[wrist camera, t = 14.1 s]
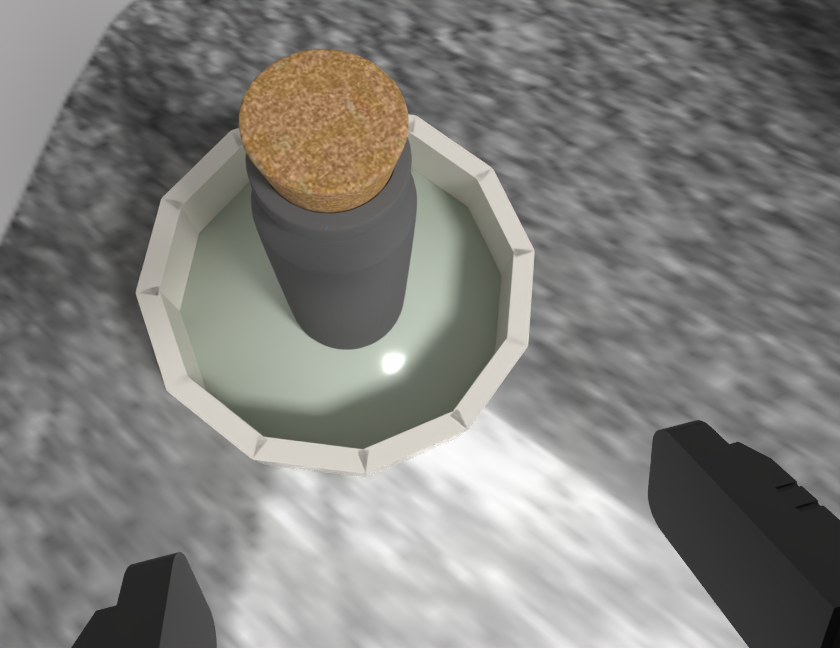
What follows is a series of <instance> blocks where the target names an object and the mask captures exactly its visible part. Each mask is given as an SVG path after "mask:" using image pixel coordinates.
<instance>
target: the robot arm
mask: <svg viewBox="0 0 840 648" xmlns="http://www.w3.org/2000/svg"><path fill="white" fill-rule="evenodd" d="M648 501H649V505H650V509H651V512H652V515H653V517H654V519H655V521H656V523H657V525H658V527H659V528H660V530H661V531H662V533H663V534H664V535H665V537H666V538H667V539H668V541H669V542H670V543H671V545H672V546H673V547H674V549H675V550H676V551H677V553H678V554H679V555H680V557H681V558H682V559H683V561H684V562H685V563H686V565H687V566H688V567H689V568H690V570H691V571H692V572H693V574H694V575H695V576H696V578H697V579H698V580H699V582H700V583H701V584H702V586H703V587H704V588H705V590H706V591H707V592H708V594H709V595H710V596H711V598H712V599H713V600H714V602H715V603H716V604H717V606H718V607H719V608H720V610H721V611H722V612H723V614H724V615H725V616H726V618H727V619H728V620H729V622H730V623H731V624H732V626H733V627H734V628H735V630H736V631H737V632H738V634H739V635H740V636H741V638H742V639H743V640H744V642H745V643H746V644H747V646H748V647H749V648H840V520H839V519H838V518H837V517H836V516H835V515H834V514H832V513H831V512H830V511H829V510H828V509H827V508H826V507H825V506H820V505H819V504H818V500H817V499H816V498H815V497H813V496H812V495H811V494H810V493H809V492H808V491H807V490H806V489H805V488H803V487H802V486H800V487H799V486H798V485H797V481H796V480H795V479H793V478H792V477H791V476H790V475H789V474H788V473H787V472H786V471H784V470H783V469H782V468H781V467H780V466H779V465H778V464H777V463H776V462H774V461H773V460H772V459H771V458H769V457H767V456H765V455H763V454H761V453H759V452H757V451H755V450H754V449H752V448H750V447H748V446H746V445H744V444H742V443H740V442H736V443H732V444H728V443H727V442H726V441H725V440H724V439H723V438H722V437H721V436H720V435H719V434H718V433H717V432H716V431H715V430H714V429H712V428H711V427H710V426H709V425H708V424H707V423H705V422H703V421H700V420H696V421H692V422H688V423H684V424H681V425H677V426H673V427H669V428H665V429H661V430H658V431H656V432H655V434H654V436H653V442H652V453H651V464H650V475H649V486H648ZM72 648H217V644H216V632H215V626H214V621H213V617H212V614H211V611H210V609H209V606H208V604H207V602H206V600H205V598H204V595H203V593H202V591H201V589H200V587H199V585H198V582H197V580H196V578H195V576H194V574H193V572H192V569H191V567H190V565H189V563H188V561H187V559H186V557H185V555H184V554H183V553H181V552H178V553H174V554H170V555H166V556H162V557H158V558H155V559H151V560H147V561H143V562H139V563H135V564H131V565H130V566H129V567H128V568H127V569H126V572H125V574H124V578H123V582H122V586H121V590H120V594H119V598H118V602H117V605H116V606H113V607H109V608H105V609H101V610H98V611H96V612H95V613H94V615H93V616H92V618H91V619H90V621H89V622H88V624H87V625H86V627H85V628H84V630H83V631H82V633H81V634H80V635H79V637H78V638H77V640H76V641H75V643H74V644H73V646H72Z"/></svg>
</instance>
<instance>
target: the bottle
mask: <svg viewBox="0 0 840 648" xmlns="http://www.w3.org/2000/svg"><path fill="white" fill-rule="evenodd" d="M408 129H409V117H408V111H407V107H406V103H405V100H404V98H403V95H402V93H401V92H400V90H399V88H398V86H397V85H396V84H395V82H394V81H393V80H392V79H391V78H390V77H389V76H388V75H387V74H386V73H385V72H384V71H383V70H382V69H381V68H380V67H378V66H377V65H375V64H374V63H372V62H370V61H369V60H367V59H365V58H362V57H360V56H357V55H355V54H353V53H348V52H344V51H340V50H330V49H313V50H307V51H301V52H298V53H295V54H292V55H289V56H286V57H284V58H281V59H279V60H277V61H276V62H274V63H272V64H271V65H270V66H268V67H267V68H266V69H264V70H263V71H262V72H261V73H260V74H259V75H258V76H257V77H256V78H255V79H254V81H253V82H252V83H251V85H250V86H249V88H248V89H247V91H246V93H245V95H244V98H243V100H242V103H241V108H240V112H239V132H240V137H241V141H242V144H243V147H244V149H245V151H246V158H245V162H246V171H247V175H248V178H249V181H250V184H251V187H252V192H251V209H252V215H253V220H254V223H255V226H256V229H257V231H258V234H259V237H260V239H261V242H262V244H263V246H264V249H265V251H266V254H267V256H268V258H269V261H270V263H271V265H272V268H273V270H274V272H275V275H276V277H277V280H278V282H279V284H280V286H281V289H282V291H283V293H284V295H285V298H286V300H287V302H288V304H289V307H290V309H291V311H292V313H293V315H294V317H295V319H296V321H297V323H298V324H299V325H300V327H301V328H302V329H303V330H304V332H305V333H306V334H307V335H308V336H309V337H311V338H312V339H314V340H315V341H317V342H319V343H320V344H322V345H325V346H328V347H331V348H335V349H342V350H352V349H359V348H362V347H366V346H369V345H371V344H373V343H375V342H377V341H378V340H380V339H381V338H383V337H384V336H385V335H386V334H387V333H388V332H389V331H390V330H391V329H392V328H393V326H394V325H395V323H396V322H397V320H398V318H399V316H400V314H401V311H402V308H403V303H404V298H405V293H406V286H407V279H408V273H409V266H410V259H411V253H412V245H413V238H414V230H415V223H416V213H417V192H416V187H415V183H414V179H413V176H412V174H411V166H412V155H411V147H410V143H409V140H408V137H407V134H408Z"/></svg>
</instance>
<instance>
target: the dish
mask: <svg viewBox="0 0 840 648" xmlns="http://www.w3.org/2000/svg"><path fill="white" fill-rule="evenodd" d="M408 117H409V129H408V134H407V137H408V140H409V143H410V147H411V155H412V166H411V174H412V176H413V179H414V183H415V187H416V192H417V213H416V223H415V230H414V238H413V245H412V253H411V259H410V266H409V273H408V279H407V286H406V293H405V298H404V303H403V308H402V311H401V314H400V316H399V318H398V320H397V322H396V323H395V325H394V326H393V328H392V329H391V330H390V331H389V332H388V333H387V334H386V335H385V336H384V337H383V338H381V339H380V340H378V341H377V342H375V343H373V344H371V345H369V346H366V347H362V348H359V349H352V350H342V349H335V348H331V347H328V346H325V345H322V344H320V343H319V342H317V341H315V340H314V339H312V338H311V337H309V336H308V335H307V334H306V333H305V332H304V330H303V329H302V328H301V327H300V325H299V324H298V323H297V321H296V319H295V317H294V315H293V313H292V311H291V309H290V307H289V304H288V302H287V300H286V298H285V295H284V293H283V291H282V289H281V286H280V284H279V282H278V280H277V277H276V275H275V272H274V270H273V268H272V265H271V263H270V261H269V258H268V256H267V254H266V251H265V249H264V246H263V244H262V242H261V239H260V237H259V234H258V231H257V229H256V226H255V223H254V220H253V215H252V209H251V192H252V187H251V184H250V181H249V178H248V175H247V171H246V162H245V158H246V151H245V149H244V147H243V144H242V141H241V137H240V132H239V128H237V129H234V130H231V131H230V132H229V133H228V134H227V135H226V136H225V137H224V138H223V139H222V140H221V141H220V142H219V143H217V144H216V145H215V146H214V147H213V148H212V149H211V150H210V151H209V152H208V153H207V154H206V155H205V156H204V157H203V158H202V159H201V160H200V161H199V162H198V163H197V164H196V165H195V166H194V167H193V168H192V169H191V170H190V171H189V172H188V173H187V174H186V175H185V176H184V177H183V178H182V179H181V180H180V181H179V182H178V183H177V184H176V185H174V186H173V187H172V188H171V189H170V190H169V191H168V192H167V193H166V194H165V195H164V196H163V197H162V198H161V202H160V206H159V209H158V213H157V217H156V220H155V224H154V227H153V231H152V235H151V238H150V242H149V246H148V249H147V253H146V257H145V260H144V264H143V267H142V271H141V275H140V278H139V282H138V286H137V289H136V296H137V299H138V302H139V306H140V309H141V312H142V315H143V318H144V321H145V324H146V327H147V330H148V334H149V337H150V340H151V343H152V346H153V349H154V352H155V355H156V358H157V362H158V365H159V368H160V371H161V374H162V377H163V380H164V383H165V386H166V390H167V391H168V392H169V393H170V394H171V395H173V396H174V397H175V398H176V399H178V400H179V401H180V402H181V403H183V404H184V405H185V406H186V407H188V408H189V409H190V410H191V411H193V412H194V413H195V414H196V415H198V416H199V417H200V418H201V419H203V420H204V421H205V422H206V423H208V424H209V425H210V426H211V427H213V428H214V429H215V430H216V431H217V432H219V433H220V434H221V435H222V436H224V437H225V438H226V439H227V440H229V441H230V442H231V443H232V444H234V445H235V446H236V447H237V448H239V449H240V450H241V451H242V452H244V453H245V454H246V455H247V456H249V457H250V458H251V459H252V460H255V461H258V462H260V463H263V464H266V465H272V466H280V467H288V468H296V469H304V470H311V471H317V472H327V473H335V474H343V475H351V476H359V477H369V476H371V475H373V474H376V473H378V472H380V471H383V470H385V469H387V468H390V467H392V466H394V465H397V464H399V463H401V462H404V461H406V460H409V459H411V458H414V457H416V456H417V455H420V454H422V453H424V452H427V451H429V450H431V449H434V448H436V447H438V446H440V445H443V444H445V443H447V442H450V441H452V440H454V439H457V438H458V437H459V436H461V435H462V434H463V433H464V432H466V431H467V430H468V429H469V428H470V426H471V425H472V423H473V422H474V421H475V419H476V418H477V416H478V415H479V414H480V412H481V411H482V410H483V408H484V407H485V405H486V404H487V403H488V401H489V400H490V398H491V397H492V396H493V394H494V393H495V391H496V390H497V389H498V387H499V386H500V384H501V383H502V382H503V380H504V379H505V377H506V376H507V375H508V373H509V372H510V370H511V369H512V368H513V366H514V365H515V364H516V362H517V361H518V359H519V358H520V357H521V355H522V354H523V352H524V351H525V350H526V348H527V347H528V340H529V325H530V310H531V296H532V281H533V266H534V249H533V247H532V245H531V243H530V241H529V239H528V237H527V235H526V233H525V231H524V229H523V227H522V225H521V223H520V221H519V219H518V217H517V215H516V213H515V211H514V209H513V207H512V205H511V203H510V201H509V200H508V198H507V196H506V194H505V192H504V190H503V188H502V186H501V184H500V182H499V180H498V178H497V176H496V174H495V172H494V170H493V169H492V168H491V167H490V166H488V165H487V164H486V163H484V162H483V161H481V160H480V159H478V158H477V157H475V156H474V155H472V154H471V153H470V152H468V151H467V150H465V149H464V148H462V147H461V146H459V145H458V144H457V143H455V142H454V141H452V140H451V139H449V138H448V137H446V136H445V135H443V134H442V133H441V132H439V131H438V130H436V129H435V128H433V127H432V126H430V125H429V124H428V123H426V122H425V121H423V120H422V119H420V118H419V117H417V116H414V115H408Z"/></svg>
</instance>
